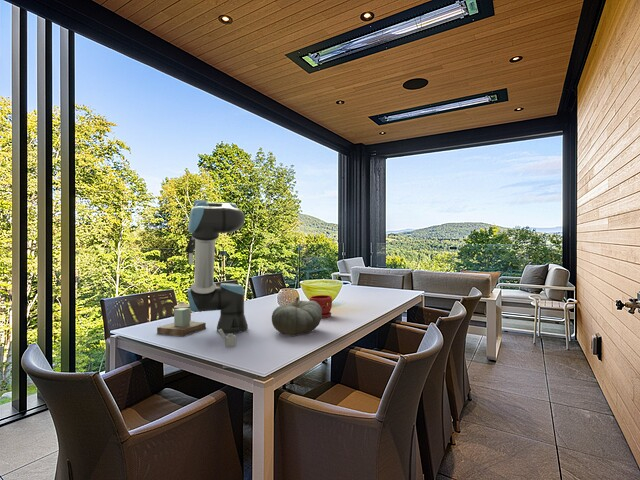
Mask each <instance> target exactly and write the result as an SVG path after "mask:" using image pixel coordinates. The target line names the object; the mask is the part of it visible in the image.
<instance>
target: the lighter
mask: <svg viewBox="0 0 640 480" xmlns="http://www.w3.org/2000/svg"><path fill="white" fill-rule="evenodd" d="M218 331H219V332H218V333H219V335H220V337H221V338H222V339H223V340H224V346H225V348H226V349H227V348H232V347H236V346H237V345H236V344H237V342H236V341H237V337H236V336H237V335H235V333H227V335H226V333H224V332H223V330H222V329H221V328H220V329H219V330H218Z"/></svg>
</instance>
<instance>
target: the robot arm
mask: <svg viewBox="0 0 640 480" xmlns="http://www.w3.org/2000/svg"><path fill="white" fill-rule="evenodd" d="M245 222H246V216H245V214H244V211H243V210H241V209H239V208H237V204H236V203H232V202H211V201H209V202H208V201H207V200H206V199H205V200H204V199H195V200H194V201H193V205H192V208H191V209H190V213H189V218H188V228H187V229H188V230H187V231H188V233H189V234H191V235H190V236H189V240H188V242H187V243H186V244H187V245H186V246H185V249H184V252H185V253H187V258H188V265H191V266H192V265H193V266H194V281H193V283H192V284H191V286H190V287H188V289H187V297H188V305H190V310H191V312H192V313H193V312H194V313H196V312H197V313H201V312H212V311H214V312H215V311H220V314H219V315H220V316H219V320H218V323H217V325H216V332H217V333H219V331H218V330H219V329H220V328H221V329H222V330H223V332H224V334H231V333H232V334H239V333H242V332H247V330H248V328H249V327H248V326H249V324H248V321H247V318H246V315H245V288H244V286H243V285H241V284H236V283H228V282H227V283H226V282H225V283H222V282H221V283H220V285H219V286H217V284H216V282H214V275H215V253H217V252H218V249H217V247H216V240H218V238H220V234H229V233H233V232H236V231H238V230H239V229H241V228H242V227H243V225H244V224H245ZM193 251H194V252H193Z"/></svg>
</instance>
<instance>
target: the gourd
mask: <svg viewBox="0 0 640 480" xmlns="http://www.w3.org/2000/svg"><path fill="white" fill-rule="evenodd" d="M299 298H300V297H296V298H295V300H294V301H293V302H291V303H289V304H282V305H279V306H277V307H276V308H275V309H274V310H273V312H272V313H271V324H272V326H273V328H274V329H275V330H276V331H277V332H278V333H280V334H282V335H288V336H291V337H295V336H298V335H302V334H303V335H305V334H308V333H311V332H313V331H314V330H315V329H316V328H317V327H318V326H319V325H320V323H321V320H322V319H323V318H322V309H321V307H320V305H319V304H318V303H317V302H316V301H310V300H299Z"/></svg>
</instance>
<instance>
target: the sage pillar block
mask: <svg viewBox="0 0 640 480" xmlns="http://www.w3.org/2000/svg"><path fill="white" fill-rule="evenodd" d="M173 310H174V309H173ZM173 315H174V316H173V323H174V326H186V325H189V324H190V308H179V309H175V310H174V311H173Z"/></svg>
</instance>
